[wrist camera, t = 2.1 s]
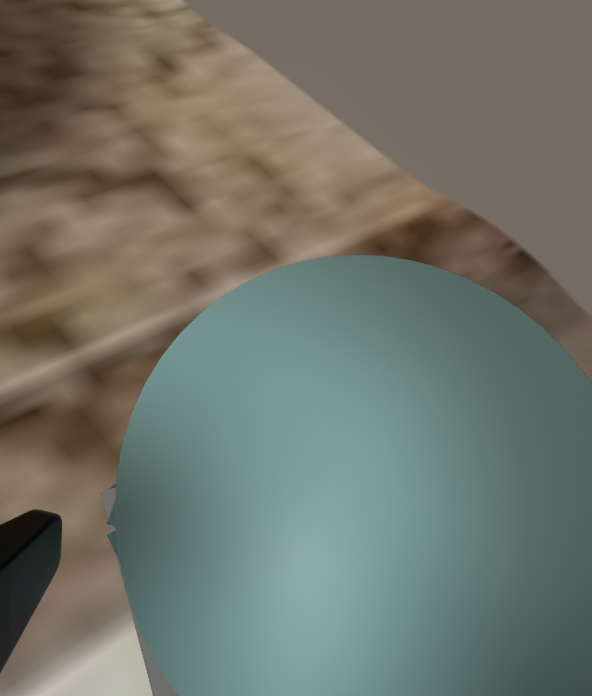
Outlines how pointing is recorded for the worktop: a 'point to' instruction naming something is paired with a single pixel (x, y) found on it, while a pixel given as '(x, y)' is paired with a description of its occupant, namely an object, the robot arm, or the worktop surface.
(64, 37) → the worktop surface
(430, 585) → the teal domed post
